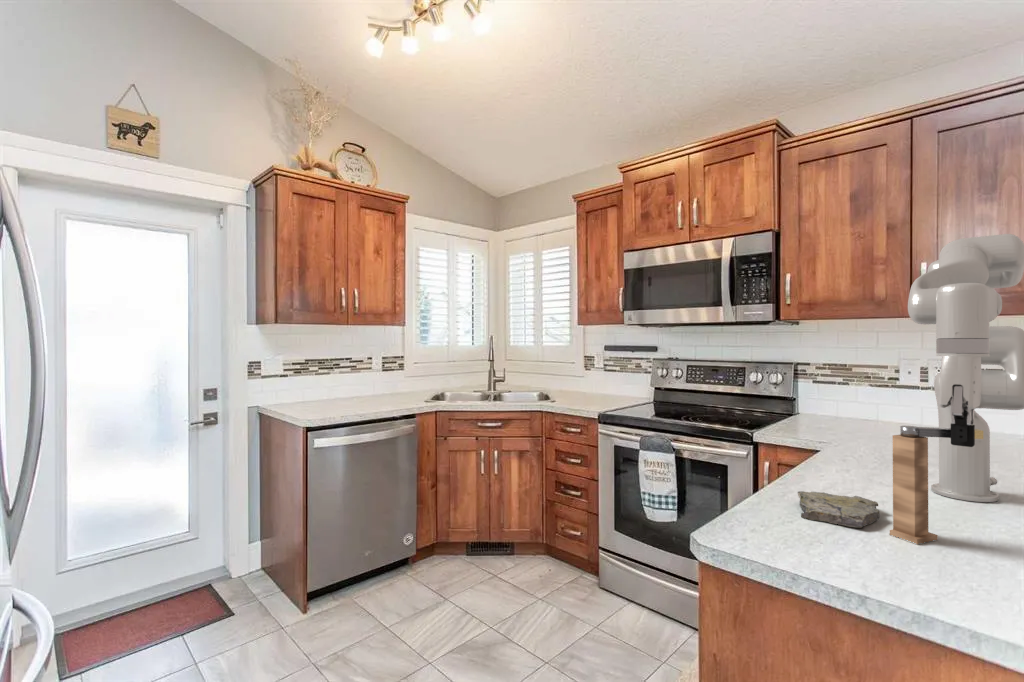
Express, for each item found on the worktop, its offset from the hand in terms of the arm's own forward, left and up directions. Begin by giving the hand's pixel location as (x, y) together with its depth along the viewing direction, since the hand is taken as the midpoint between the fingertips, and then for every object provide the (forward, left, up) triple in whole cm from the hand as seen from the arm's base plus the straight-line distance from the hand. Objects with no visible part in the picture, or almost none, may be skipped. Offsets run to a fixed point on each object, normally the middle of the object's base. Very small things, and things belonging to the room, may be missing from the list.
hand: (962, 445), depth 94 cm
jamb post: (+4, -7, -19) cm, 21 cm away
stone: (+6, -20, -20) cm, 29 cm away
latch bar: (0, -4, +1) cm, 4 cm away
